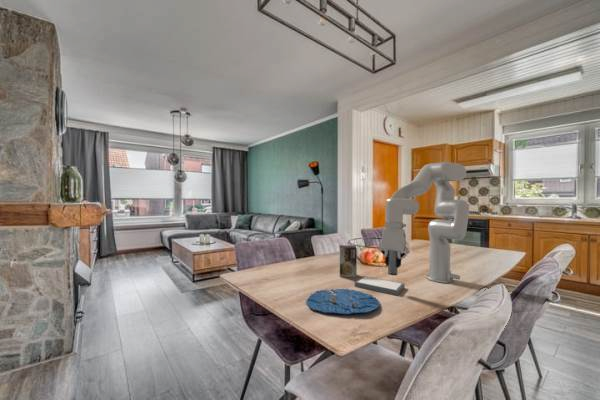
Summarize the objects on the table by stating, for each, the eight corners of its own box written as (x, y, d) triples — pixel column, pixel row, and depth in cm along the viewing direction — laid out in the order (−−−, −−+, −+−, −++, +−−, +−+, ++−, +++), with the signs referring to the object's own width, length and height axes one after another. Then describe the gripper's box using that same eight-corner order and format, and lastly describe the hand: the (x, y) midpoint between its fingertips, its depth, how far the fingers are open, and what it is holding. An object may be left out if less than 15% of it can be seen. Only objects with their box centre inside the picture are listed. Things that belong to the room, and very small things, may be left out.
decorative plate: (291, 300, 111) (291, 288, 111) (346, 288, 125) (346, 277, 125) (333, 328, 85) (333, 312, 85) (396, 308, 100) (396, 295, 100)
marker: (398, 273, 118) (399, 243, 118) (396, 276, 114) (397, 244, 114) (389, 272, 120) (389, 242, 120) (386, 274, 117) (387, 243, 117)
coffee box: (355, 274, 144) (355, 245, 144) (356, 277, 138) (357, 247, 138) (338, 273, 145) (339, 244, 145) (339, 277, 139) (339, 247, 138)
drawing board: (404, 287, 123) (404, 283, 123) (397, 295, 113) (397, 290, 113) (363, 279, 134) (363, 275, 134) (354, 286, 124) (354, 282, 124)
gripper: (415, 226, 115) (414, 267, 115) (378, 223, 125) (377, 261, 125) (411, 227, 109) (410, 271, 109) (372, 225, 119) (371, 264, 119)
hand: (392, 265), depth 117 cm, fingers closed on marker, 4 cm apart
